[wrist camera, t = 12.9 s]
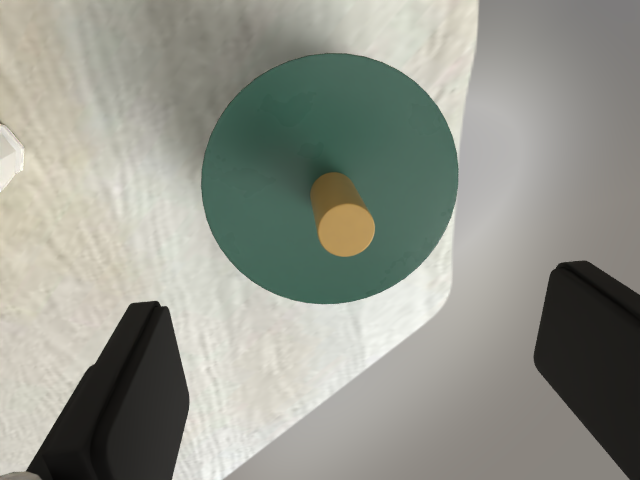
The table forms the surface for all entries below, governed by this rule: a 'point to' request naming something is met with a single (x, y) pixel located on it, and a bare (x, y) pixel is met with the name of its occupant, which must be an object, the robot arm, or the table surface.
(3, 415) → the table surface
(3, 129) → the cup
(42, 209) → the table surface
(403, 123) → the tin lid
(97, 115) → the table surface
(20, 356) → the table surface
